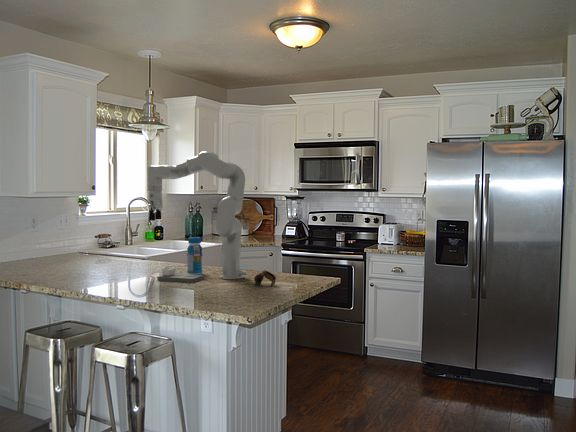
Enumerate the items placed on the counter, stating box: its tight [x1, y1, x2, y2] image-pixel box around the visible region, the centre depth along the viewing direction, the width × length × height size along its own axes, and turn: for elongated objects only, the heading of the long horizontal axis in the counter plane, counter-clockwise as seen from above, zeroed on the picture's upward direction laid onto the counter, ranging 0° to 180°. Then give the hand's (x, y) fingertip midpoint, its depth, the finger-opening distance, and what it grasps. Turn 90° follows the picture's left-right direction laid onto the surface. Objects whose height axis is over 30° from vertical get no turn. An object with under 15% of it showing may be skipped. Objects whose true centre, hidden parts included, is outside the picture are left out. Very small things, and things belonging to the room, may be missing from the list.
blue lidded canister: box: [186, 236, 204, 275], centre depth 285 cm, size 8×8×20 cm
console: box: [157, 272, 205, 284], centre depth 266 cm, size 20×12×2 cm, turn 72°
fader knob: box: [161, 266, 176, 276], centre depth 268 cm, size 4×6×4 cm, turn 162°
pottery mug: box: [253, 270, 277, 287], centre depth 250 cm, size 12×10×8 cm
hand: (155, 219), depth 283 cm, fingers open, 9 cm apart
